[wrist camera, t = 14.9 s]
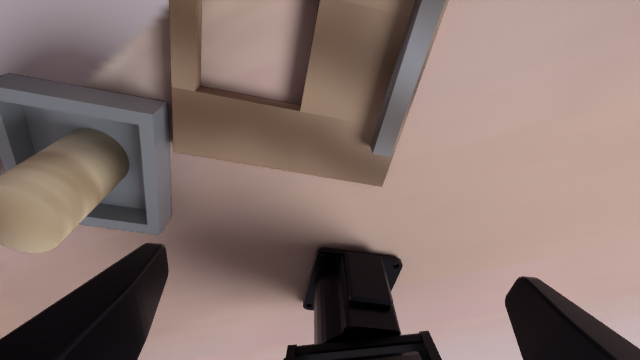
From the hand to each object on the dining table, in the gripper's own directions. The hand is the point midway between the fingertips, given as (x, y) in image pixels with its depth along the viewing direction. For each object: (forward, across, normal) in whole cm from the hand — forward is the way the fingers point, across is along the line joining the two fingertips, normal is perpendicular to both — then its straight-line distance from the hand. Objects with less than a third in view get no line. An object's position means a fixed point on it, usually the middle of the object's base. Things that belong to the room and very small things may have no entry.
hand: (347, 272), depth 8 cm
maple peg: (+11, +13, +4) cm, 18 cm away
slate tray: (+12, +13, +4) cm, 18 cm away
